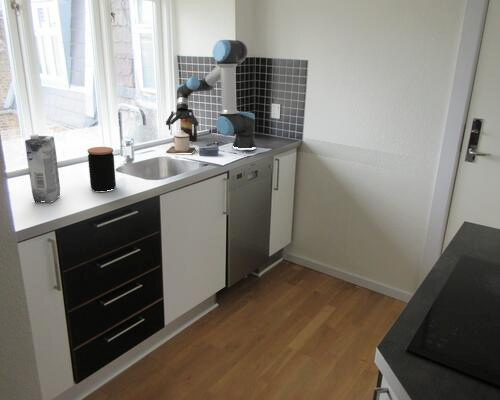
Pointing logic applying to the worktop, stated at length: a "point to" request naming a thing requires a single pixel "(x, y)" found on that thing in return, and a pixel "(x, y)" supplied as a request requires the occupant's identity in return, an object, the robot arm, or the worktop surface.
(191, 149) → the walnut board
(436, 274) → the worktop surface
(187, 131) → the vase
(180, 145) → the teacup with lid
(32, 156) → the juice carton
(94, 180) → the coffee jar
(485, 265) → the worktop surface
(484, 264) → the worktop surface
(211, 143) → the worktop surface
